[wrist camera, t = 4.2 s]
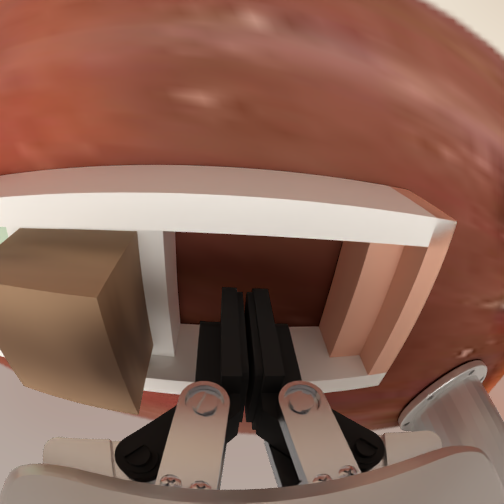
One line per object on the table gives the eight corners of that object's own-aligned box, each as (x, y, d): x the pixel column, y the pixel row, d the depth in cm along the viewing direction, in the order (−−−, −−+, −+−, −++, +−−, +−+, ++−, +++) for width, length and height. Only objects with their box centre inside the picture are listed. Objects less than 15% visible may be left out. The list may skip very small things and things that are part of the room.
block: (153, 345, 13) (138, 414, 9) (52, 330, 12) (24, 386, 9) (137, 231, 10) (96, 297, 6) (19, 228, 9) (-35, 277, 6)
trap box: (356, 337, 17) (378, 385, 14) (-16, 306, 14) (-40, 338, 11) (407, 189, 12) (457, 221, 9) (-52, 185, 9) (-90, 208, 6)
